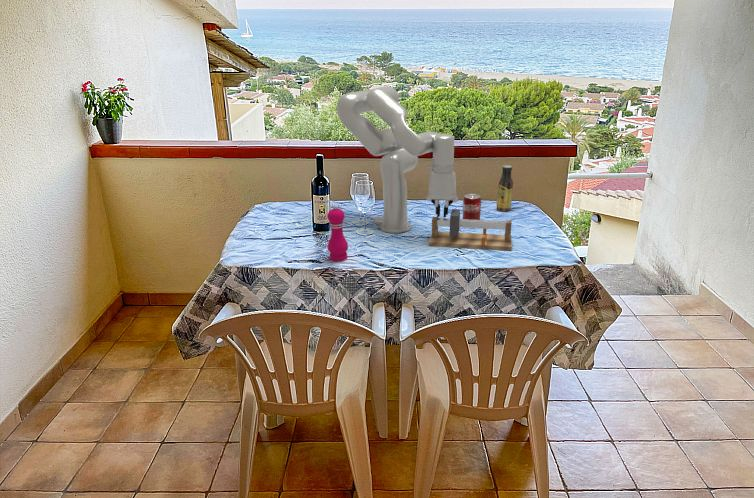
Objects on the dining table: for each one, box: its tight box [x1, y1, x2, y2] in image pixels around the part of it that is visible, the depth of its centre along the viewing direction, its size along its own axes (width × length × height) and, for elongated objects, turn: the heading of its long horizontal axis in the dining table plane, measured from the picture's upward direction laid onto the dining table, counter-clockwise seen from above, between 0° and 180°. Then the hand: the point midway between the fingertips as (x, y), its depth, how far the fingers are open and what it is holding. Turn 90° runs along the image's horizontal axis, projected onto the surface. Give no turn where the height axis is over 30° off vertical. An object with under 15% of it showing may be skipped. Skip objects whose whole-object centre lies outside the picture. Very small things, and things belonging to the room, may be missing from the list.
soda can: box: [461, 193, 482, 220], centre depth 213 cm, size 7×7×12 cm
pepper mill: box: [327, 204, 349, 262], centre depth 181 cm, size 7×7×20 cm
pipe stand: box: [428, 216, 513, 252], centre depth 194 cm, size 30×12×9 cm, turn 77°
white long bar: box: [437, 217, 506, 230], centre depth 193 cm, size 25×2×2 cm, turn 77°
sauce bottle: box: [496, 164, 514, 212], centre depth 227 cm, size 7×6×20 cm
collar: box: [449, 208, 461, 237], centre depth 194 cm, size 3×8×8 cm, turn 167°
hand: (441, 215), depth 198 cm, fingers closed
